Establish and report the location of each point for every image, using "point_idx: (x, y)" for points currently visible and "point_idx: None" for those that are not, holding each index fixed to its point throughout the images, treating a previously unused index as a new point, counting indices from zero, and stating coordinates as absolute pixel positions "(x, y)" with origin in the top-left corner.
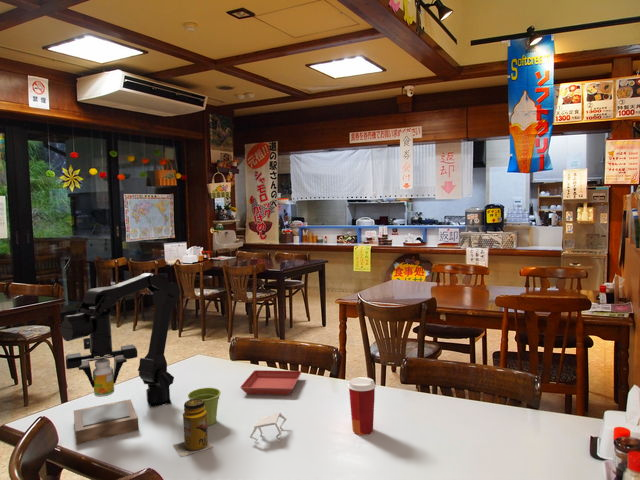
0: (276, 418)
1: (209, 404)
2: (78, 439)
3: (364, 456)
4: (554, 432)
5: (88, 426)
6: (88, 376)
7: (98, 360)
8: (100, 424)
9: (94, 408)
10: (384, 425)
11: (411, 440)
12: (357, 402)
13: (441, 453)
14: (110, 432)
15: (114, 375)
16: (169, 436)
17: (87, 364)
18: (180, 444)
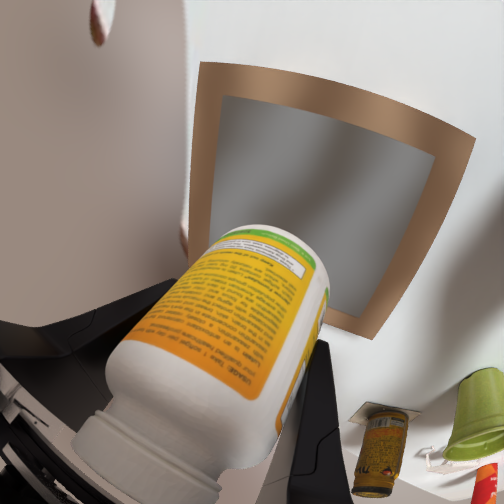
0: (456, 471)
1: (461, 445)
2: None
3: (438, 479)
4: (497, 489)
5: None
6: None
7: (88, 462)
8: None
9: (279, 115)
10: (500, 467)
11: (474, 479)
12: (471, 502)
13: (457, 487)
14: None
15: (283, 426)
16: (394, 378)
17: (56, 430)
18: (376, 407)
